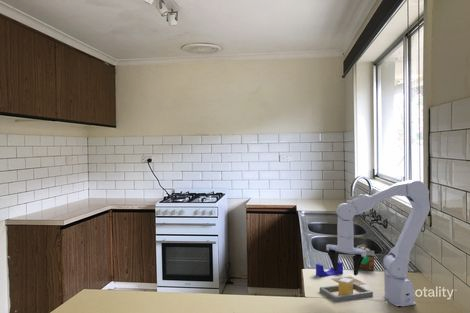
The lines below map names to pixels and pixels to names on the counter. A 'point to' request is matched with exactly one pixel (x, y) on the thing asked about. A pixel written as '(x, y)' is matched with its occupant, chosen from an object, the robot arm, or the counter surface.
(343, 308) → the counter surface
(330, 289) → the parts tray
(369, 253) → the food container
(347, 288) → the yellow and white block
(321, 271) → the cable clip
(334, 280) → the brown square tile
